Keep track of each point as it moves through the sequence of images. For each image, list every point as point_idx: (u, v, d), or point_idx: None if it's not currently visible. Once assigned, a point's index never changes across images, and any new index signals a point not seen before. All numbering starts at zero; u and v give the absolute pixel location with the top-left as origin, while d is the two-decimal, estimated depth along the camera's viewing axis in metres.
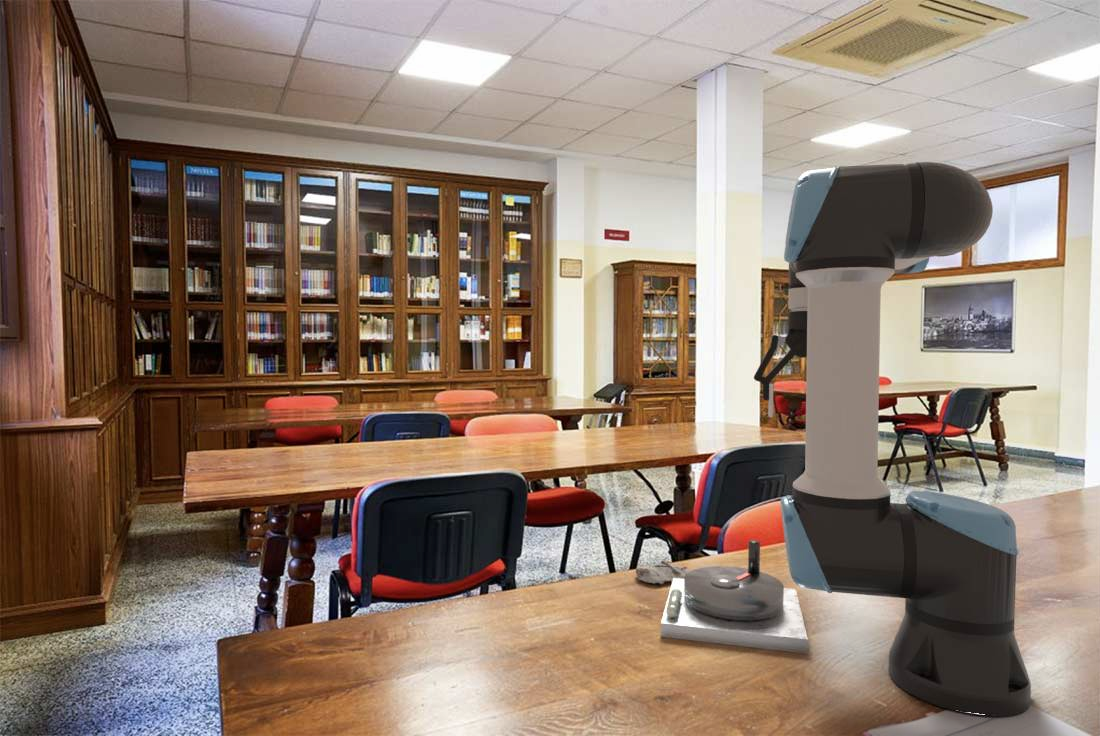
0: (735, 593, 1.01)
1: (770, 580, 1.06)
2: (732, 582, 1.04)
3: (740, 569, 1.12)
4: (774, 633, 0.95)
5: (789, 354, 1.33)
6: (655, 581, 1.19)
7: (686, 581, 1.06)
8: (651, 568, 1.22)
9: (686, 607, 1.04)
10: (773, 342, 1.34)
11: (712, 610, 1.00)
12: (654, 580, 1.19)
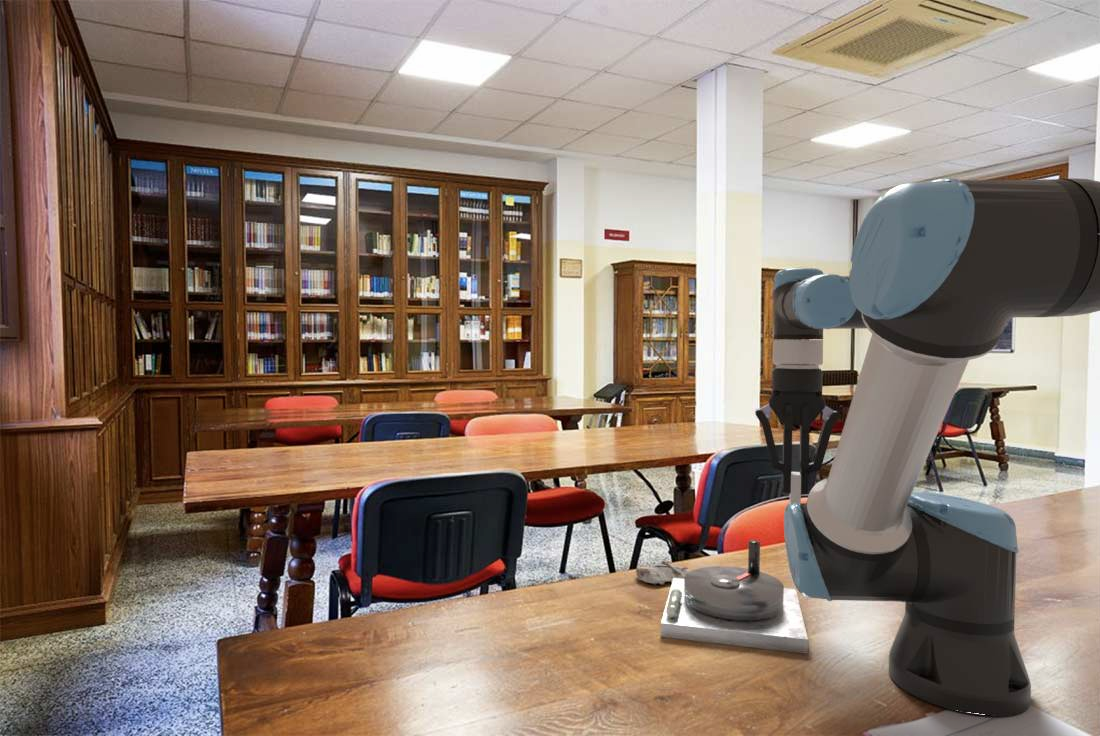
0: (735, 593, 1.01)
1: (770, 580, 1.06)
2: (732, 582, 1.04)
3: (740, 569, 1.12)
4: (774, 633, 0.95)
5: (787, 427, 1.07)
6: (655, 581, 1.18)
7: (686, 581, 1.06)
8: (651, 568, 1.22)
9: (686, 607, 1.04)
10: (762, 418, 1.08)
11: (712, 610, 1.00)
12: (655, 580, 1.18)
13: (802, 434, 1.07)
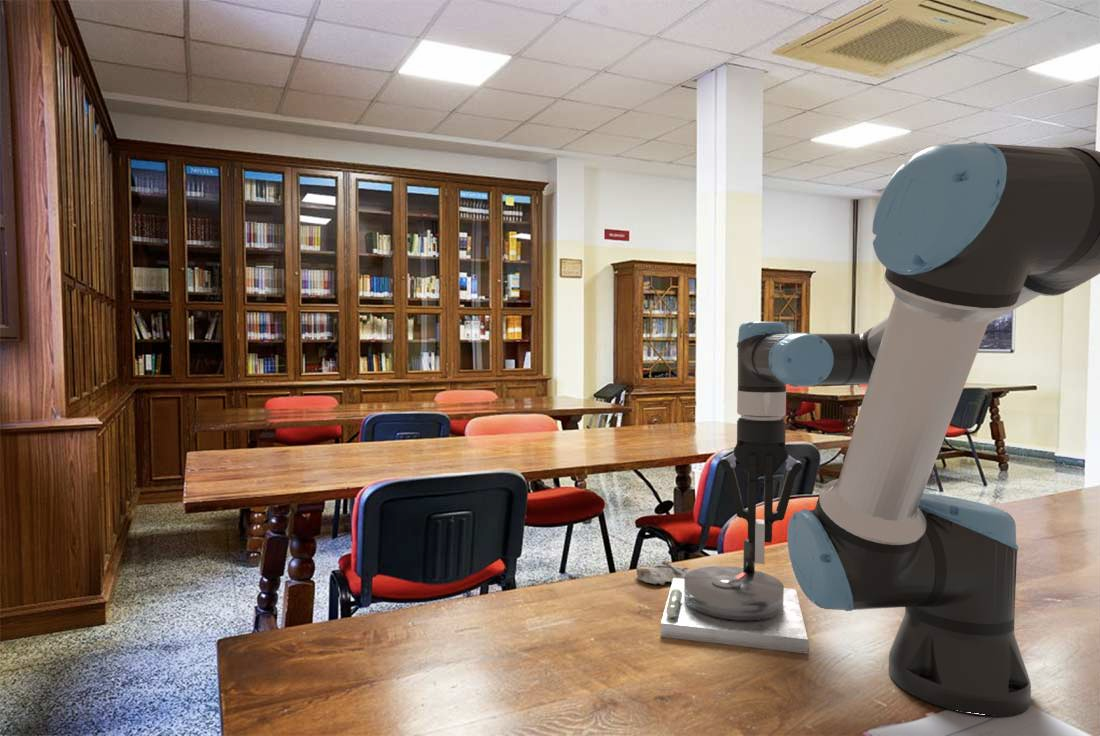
0: (740, 593, 1.01)
1: (767, 578, 1.07)
2: (734, 582, 1.04)
3: (735, 568, 1.12)
4: (774, 633, 0.95)
5: (750, 477, 1.09)
6: (656, 582, 1.18)
7: (688, 583, 1.05)
8: (652, 568, 1.22)
9: (686, 607, 1.04)
10: (726, 468, 1.10)
11: (718, 611, 0.99)
12: (655, 581, 1.18)
13: (766, 484, 1.09)
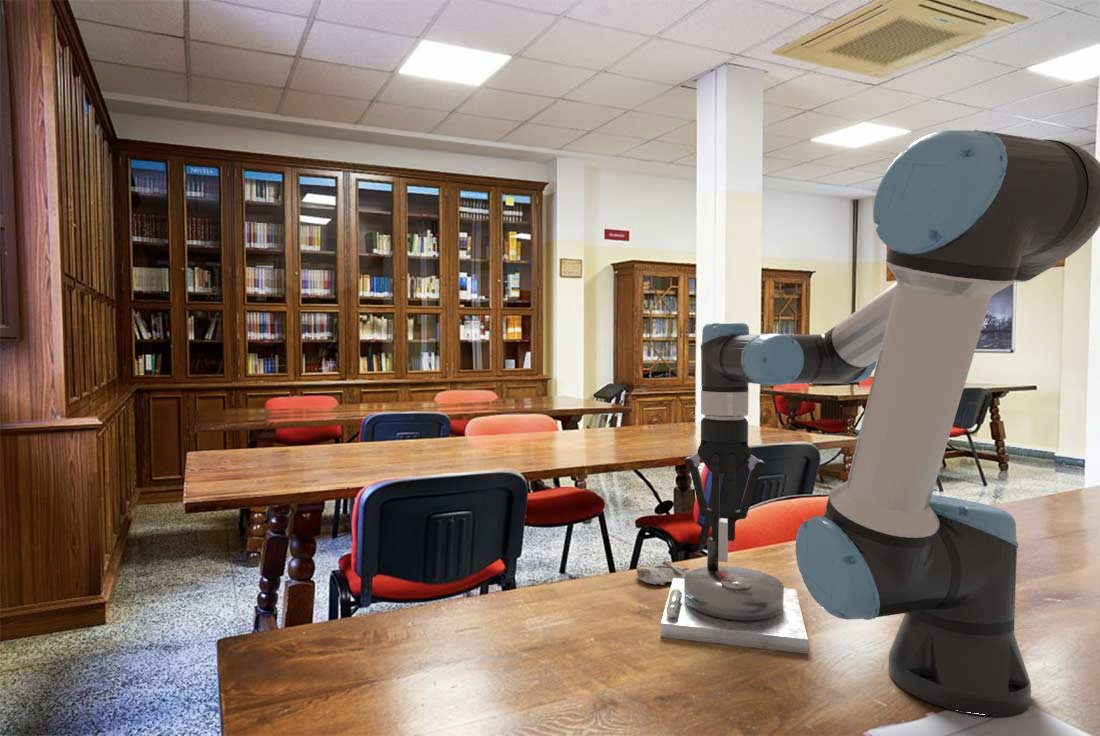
0: (765, 589, 1.02)
1: (738, 570, 1.11)
2: (745, 581, 1.04)
3: (701, 570, 1.11)
4: (774, 633, 0.95)
5: (713, 476, 1.10)
6: (656, 582, 1.18)
7: (719, 596, 0.99)
8: (652, 569, 1.22)
9: (686, 607, 1.04)
10: (690, 467, 1.11)
11: (765, 613, 0.99)
12: (655, 581, 1.18)
13: (728, 483, 1.10)
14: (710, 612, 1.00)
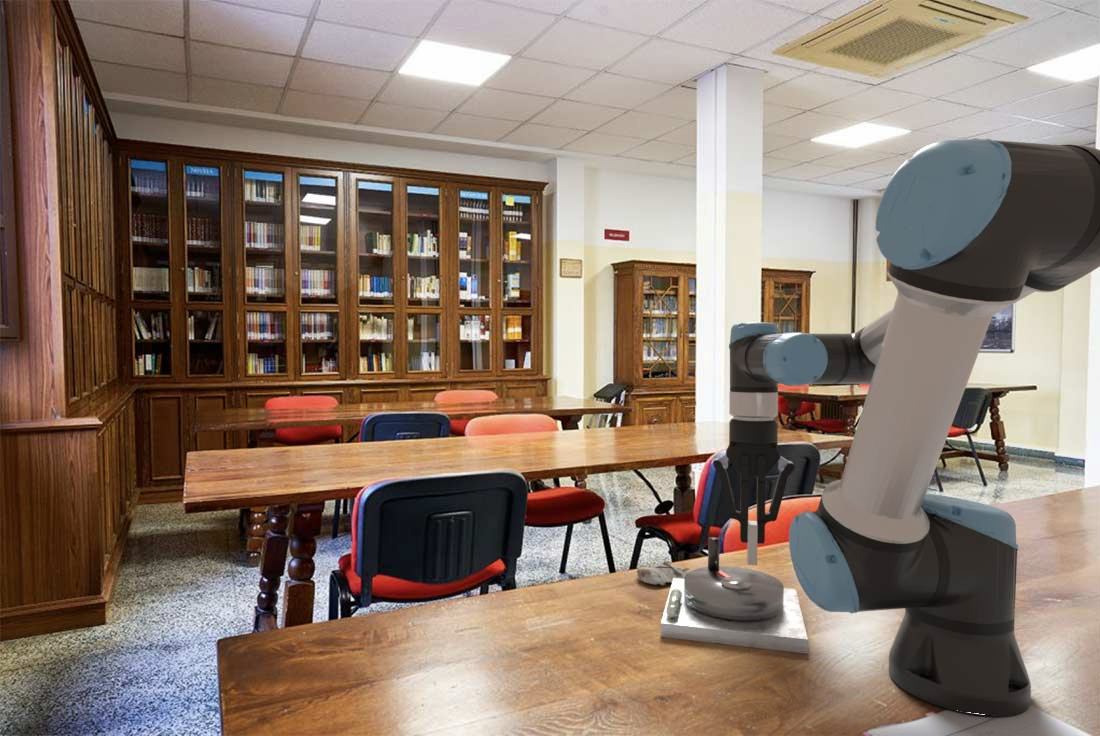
0: (764, 589, 1.02)
1: (739, 570, 1.11)
2: (745, 581, 1.04)
3: (702, 570, 1.11)
4: (774, 633, 0.95)
5: (743, 478, 1.09)
6: (656, 582, 1.18)
7: (718, 596, 1.00)
8: (652, 569, 1.22)
9: (686, 607, 1.04)
10: (719, 469, 1.10)
11: (764, 613, 0.99)
12: (655, 581, 1.18)
13: (758, 484, 1.08)
14: (709, 612, 1.00)
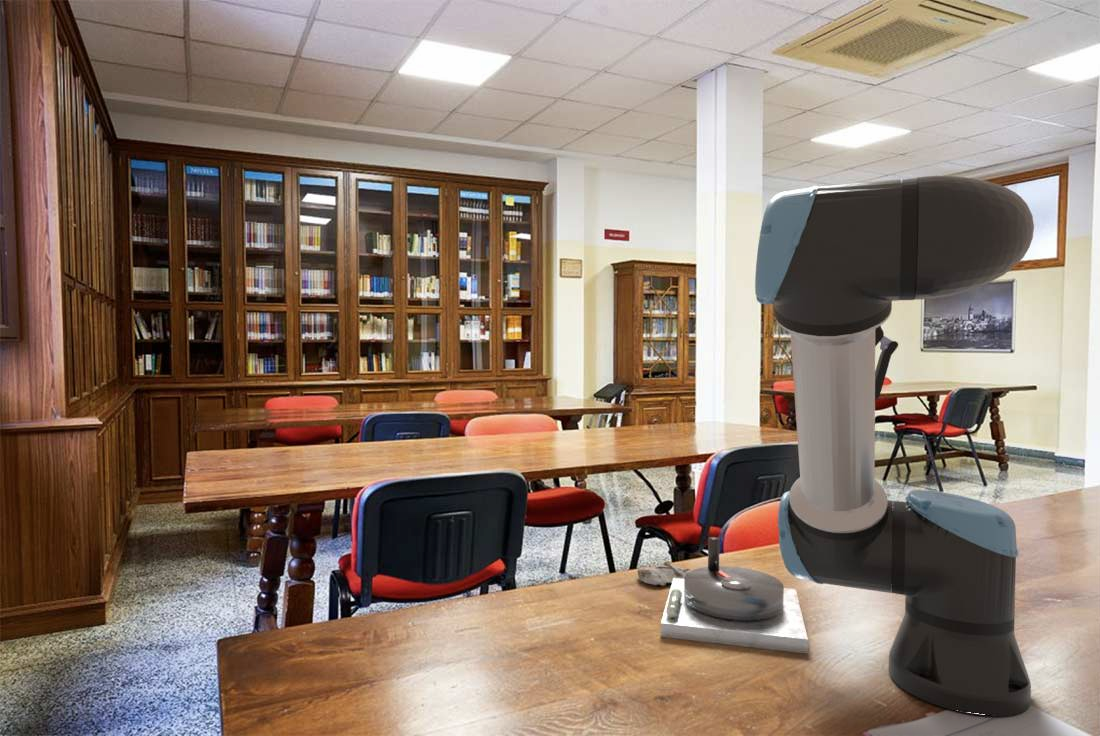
0: (764, 589, 1.02)
1: (739, 570, 1.11)
2: (745, 581, 1.04)
3: (702, 570, 1.11)
4: (774, 633, 0.95)
5: None
6: (656, 583, 1.18)
7: (718, 596, 1.00)
8: (653, 569, 1.21)
9: (686, 607, 1.04)
10: None
11: (764, 613, 0.99)
12: (656, 582, 1.18)
13: None
14: (709, 612, 1.00)
